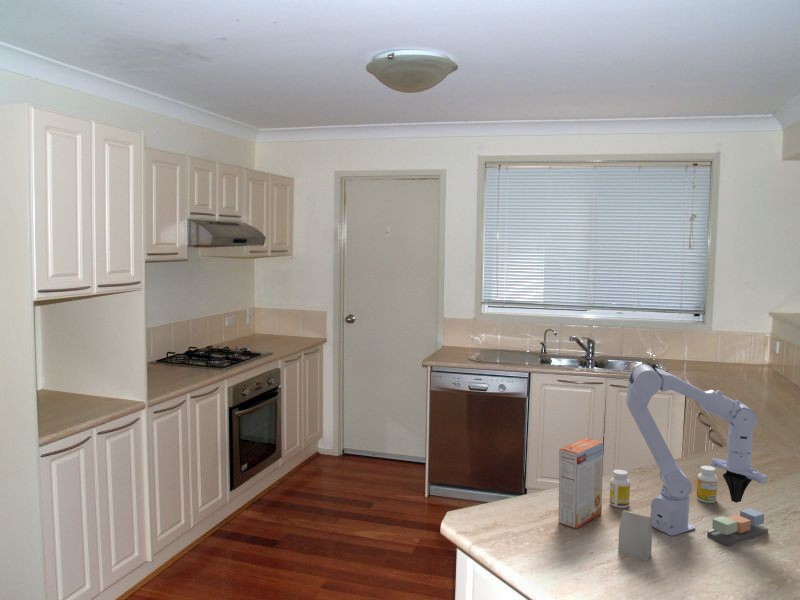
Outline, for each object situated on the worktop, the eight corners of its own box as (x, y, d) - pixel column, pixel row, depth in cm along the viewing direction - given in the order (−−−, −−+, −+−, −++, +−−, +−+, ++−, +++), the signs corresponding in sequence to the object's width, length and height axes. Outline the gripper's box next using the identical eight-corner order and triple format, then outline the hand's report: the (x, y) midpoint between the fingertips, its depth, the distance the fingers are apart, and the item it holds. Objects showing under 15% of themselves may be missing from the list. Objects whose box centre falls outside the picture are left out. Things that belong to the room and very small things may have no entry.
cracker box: (582, 508, 183) (585, 436, 182) (602, 514, 179) (605, 441, 177) (556, 522, 174) (558, 447, 172) (576, 530, 169) (578, 452, 167)
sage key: (726, 534, 162) (727, 525, 162) (712, 528, 165) (712, 518, 165) (736, 531, 164) (737, 521, 164) (722, 525, 167) (723, 515, 167)
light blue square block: (754, 526, 167) (754, 516, 167) (739, 520, 171) (740, 510, 170) (763, 523, 169) (764, 513, 169) (749, 517, 172) (749, 508, 172)
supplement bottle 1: (632, 504, 186) (633, 471, 185) (624, 510, 182) (625, 476, 181) (614, 499, 190) (615, 467, 189) (606, 504, 186) (607, 471, 185)
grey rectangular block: (646, 560, 153) (647, 520, 153) (618, 552, 158) (619, 512, 157) (651, 555, 156) (652, 515, 155) (623, 546, 161) (625, 507, 160)
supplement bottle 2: (699, 494, 194) (700, 463, 193) (718, 499, 191) (720, 467, 190) (694, 500, 190) (695, 468, 189) (713, 505, 186) (715, 472, 185)
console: (728, 546, 161) (728, 540, 161) (707, 536, 166) (707, 530, 166) (767, 533, 168) (768, 527, 168) (746, 524, 174) (746, 518, 174)
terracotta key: (740, 533, 165) (740, 523, 164) (726, 527, 168) (726, 517, 168) (750, 530, 166) (750, 520, 166) (735, 523, 170) (736, 514, 170)
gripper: (776, 456, 162) (772, 508, 163) (724, 440, 175) (721, 488, 176) (758, 460, 159) (754, 513, 160) (706, 444, 172) (704, 493, 173)
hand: (736, 501), depth 168 cm, fingers closed
